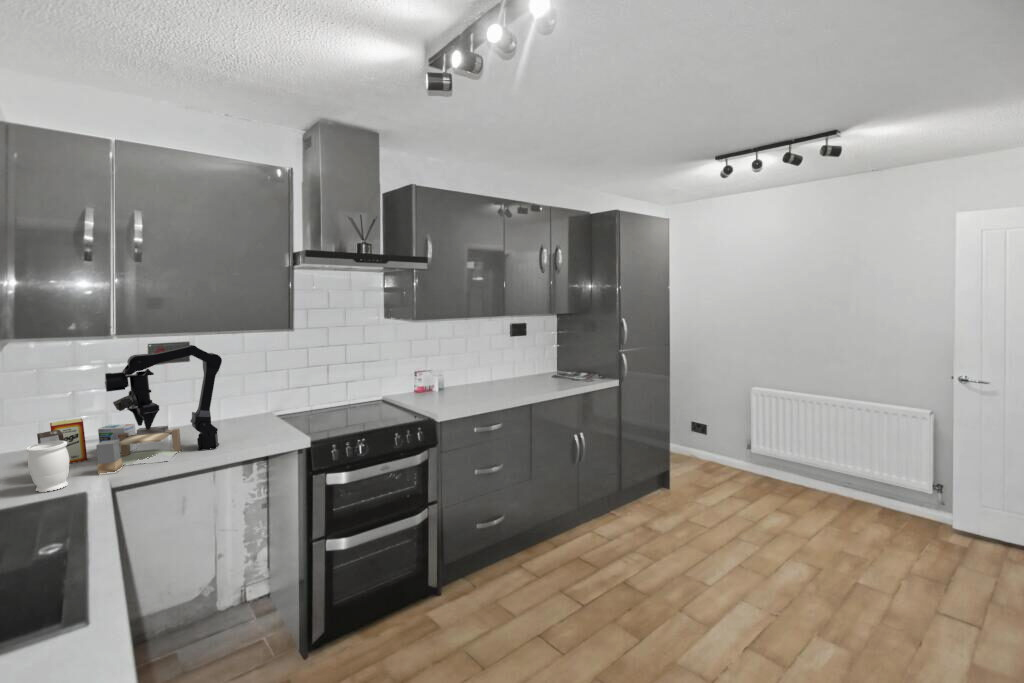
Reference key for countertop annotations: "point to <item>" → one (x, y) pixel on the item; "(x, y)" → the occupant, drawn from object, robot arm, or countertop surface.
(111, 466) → the plinth
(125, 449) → the stand
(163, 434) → the trapdoor
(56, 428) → the baking soda box
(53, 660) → the countertop surface
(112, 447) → the basalt block
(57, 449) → the jar
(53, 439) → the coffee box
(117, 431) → the light bulb box
